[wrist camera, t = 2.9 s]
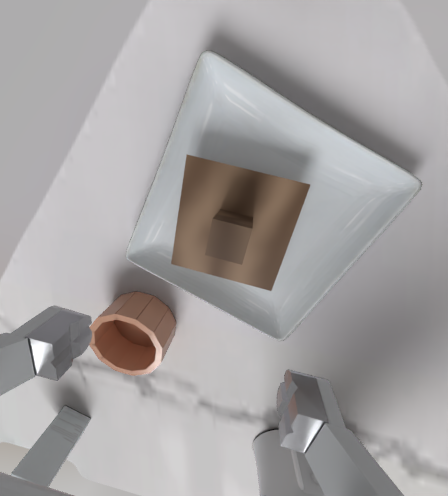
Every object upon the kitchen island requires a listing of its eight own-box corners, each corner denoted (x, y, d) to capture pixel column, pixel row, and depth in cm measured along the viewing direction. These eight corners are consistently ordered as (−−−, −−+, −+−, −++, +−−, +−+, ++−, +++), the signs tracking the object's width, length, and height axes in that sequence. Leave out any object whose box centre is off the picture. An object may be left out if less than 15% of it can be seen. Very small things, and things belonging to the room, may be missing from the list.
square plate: (280, 328, 36) (282, 346, 32) (134, 249, 34) (120, 259, 31) (408, 181, 26) (433, 183, 22) (209, 59, 24) (201, 40, 20)
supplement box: (58, 418, 55) (5, 487, 43) (65, 404, 52) (10, 473, 40) (84, 431, 55) (38, 503, 44) (92, 418, 52) (45, 490, 41)
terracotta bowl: (179, 302, 36) (165, 327, 30) (171, 353, 41) (158, 382, 35) (112, 285, 37) (86, 306, 31) (112, 337, 41) (90, 363, 36)
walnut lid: (308, 184, 24) (324, 189, 18) (271, 288, 29) (274, 315, 24) (188, 154, 24) (169, 151, 19) (173, 261, 30) (154, 282, 24)
